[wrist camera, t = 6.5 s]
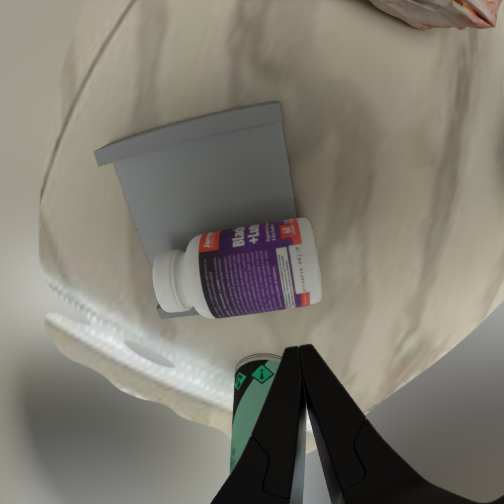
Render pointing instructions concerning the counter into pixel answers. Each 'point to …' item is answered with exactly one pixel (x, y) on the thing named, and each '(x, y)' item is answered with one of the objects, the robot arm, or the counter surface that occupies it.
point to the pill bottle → (241, 271)
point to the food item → (443, 12)
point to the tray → (204, 177)
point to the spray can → (250, 398)
